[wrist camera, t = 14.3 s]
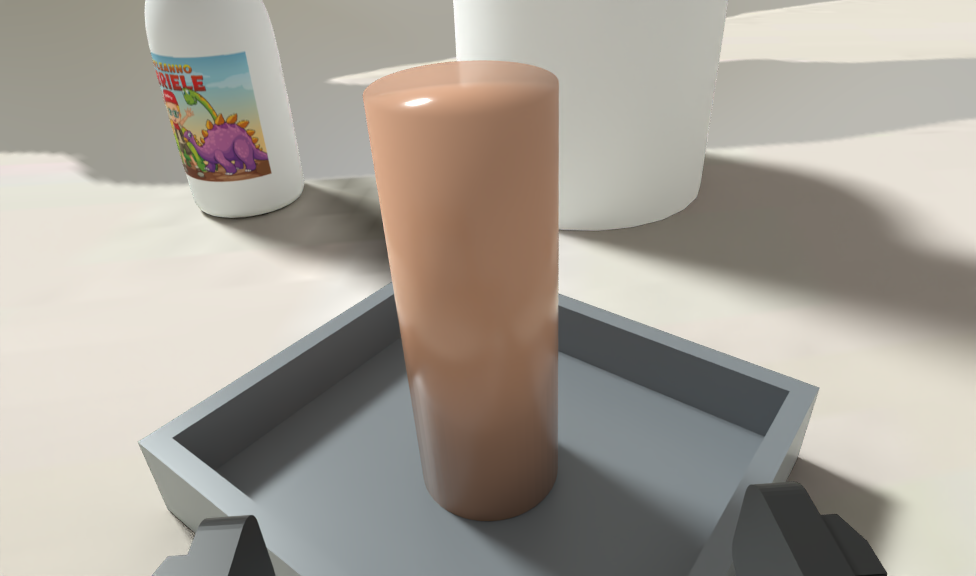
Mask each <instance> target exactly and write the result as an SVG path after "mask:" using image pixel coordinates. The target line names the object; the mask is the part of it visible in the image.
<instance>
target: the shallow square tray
mask: <svg viewBox="0 0 976 576" xmlns="http://www.w3.org/2000/svg"><path fill="white" fill-rule="evenodd" d="M818 391H819V387H816V386H813V385H810V384H808V383H805V382H802V381H799V380H797V379H794V378H791V377H788V376H786V375H783V374H780V373H777V372H775V371H772V370H769V369H766V368H763V367H761V366H758V365H755V364H752V363H750V362H747V361H744V360H741V359H739V358H736V357H733V356H730V355H727V354H725V353H722V352H719V351H716V350H714V349H711V348H708V347H705V346H703V345H700V344H697V343H694V342H691V341H689V340H686V339H683V338H680V337H678V336H675V335H672V334H669V333H667V332H664V331H661V330H658V329H655V328H653V327H650V326H647V325H644V324H642V323H639V322H636V321H633V320H631V319H628V318H625V317H622V316H620V315H617V314H614V313H611V312H608V311H606V310H603V309H600V308H597V307H595V306H592V305H589V304H586V303H584V302H581V301H578V300H575V299H572V298H570V297H567V296H564V295H561V294H559V293H558V472H557V477H556V480H555V483H554V485H553V487H552V489H551V490H550V492H549V493H548V495H547V496H546V497H545V498H544V499H543V500H542V501H541V502H540V503H539V504H538V505H536V506H535V507H534V508H532V509H530V510H529V511H527V512H525V513H523V514H521V515H518V516H515V517H512V518H509V519H504V520H497V521H477V520H471V519H466V518H463V517H460V516H457V515H455V514H453V513H451V512H449V511H447V510H446V509H444V508H443V507H441V506H440V505H439V504H438V503H437V502H436V501H435V500H434V499H433V498H432V496H431V495H430V494H429V492H428V490H427V488H426V485H425V483H424V478H423V472H422V465H421V459H420V453H419V446H418V440H417V434H416V428H415V421H414V415H413V409H412V402H411V396H410V390H409V384H408V377H407V371H406V365H405V358H404V352H403V346H402V339H401V333H400V327H399V321H398V314H397V308H396V302H395V295H394V289H393V283H392V282H391V283H389V284H388V285H386V286H384V287H383V288H381V289H380V290H378V291H377V292H375V293H373V294H372V295H370V296H369V297H367V298H365V299H364V300H362V301H361V302H359V303H358V304H356V305H354V306H353V307H351V308H350V309H348V310H346V311H345V312H343V313H342V314H340V315H338V316H337V317H335V318H334V319H332V320H331V321H329V322H327V323H326V324H324V325H323V326H321V327H319V328H318V329H316V330H315V331H313V332H311V333H310V334H308V335H307V336H305V337H304V338H302V339H300V340H299V341H297V342H296V343H294V344H292V345H291V346H289V347H288V348H286V349H284V350H283V351H281V352H280V353H278V354H277V355H275V356H273V357H272V358H270V359H269V360H267V361H265V362H264V363H262V364H261V365H259V366H258V367H256V368H254V369H253V370H251V371H250V372H248V373H246V374H245V375H243V376H242V377H240V378H238V379H237V380H235V381H234V382H232V383H231V384H229V385H227V386H226V387H224V388H223V389H221V390H219V391H218V392H216V393H215V394H213V395H211V396H210V397H208V398H207V399H205V400H204V401H202V402H200V403H199V404H197V405H196V406H194V407H192V408H191V409H189V410H188V411H186V412H184V413H183V414H181V415H180V416H178V417H177V418H175V419H173V420H172V421H170V422H169V423H167V424H165V425H164V426H162V427H161V428H159V429H158V430H156V431H154V432H153V433H151V434H150V435H148V436H146V437H145V438H143V439H142V440H140V441H138V443H139V446H140V448H141V450H142V452H143V455H144V457H145V459H146V461H147V464H148V466H149V468H150V470H151V473H152V475H153V477H154V479H155V482H156V484H157V486H158V488H159V491H160V493H161V495H162V497H163V500H164V502H165V504H166V506H167V509H168V510H169V511H170V512H172V513H173V514H174V515H175V516H176V517H177V518H178V519H179V520H181V521H182V522H183V523H184V524H185V525H186V526H187V527H189V528H190V529H191V530H192V531H193V532H194V533H195V534H196V531H197V529H198V526H199V525H200V523H201V522H202V521H203V520H204V519H205V518H212V517H227V516H243V515H254V516H255V517H256V519H257V521H258V524H259V527H260V530H261V533H262V536H263V538H264V541H265V544H266V547H267V550H268V553H269V556H270V559H271V562H272V565H273V568H274V571H275V576H736V573H735V569H734V564H733V557H732V543H733V538H734V534H735V530H736V526H737V522H738V519H739V515H740V511H741V507H742V503H743V499H744V495H745V492H746V489H747V487H748V486H749V485H751V484H765V483H781V482H786V481H787V479H788V476H789V474H790V472H791V470H792V468H793V466H794V464H795V462H796V460H797V458H798V455H799V452H800V449H801V446H802V442H803V439H804V436H805V433H806V430H807V426H808V423H809V420H810V417H811V413H812V410H813V407H814V404H815V401H816V397H817V394H818Z"/></svg>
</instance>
